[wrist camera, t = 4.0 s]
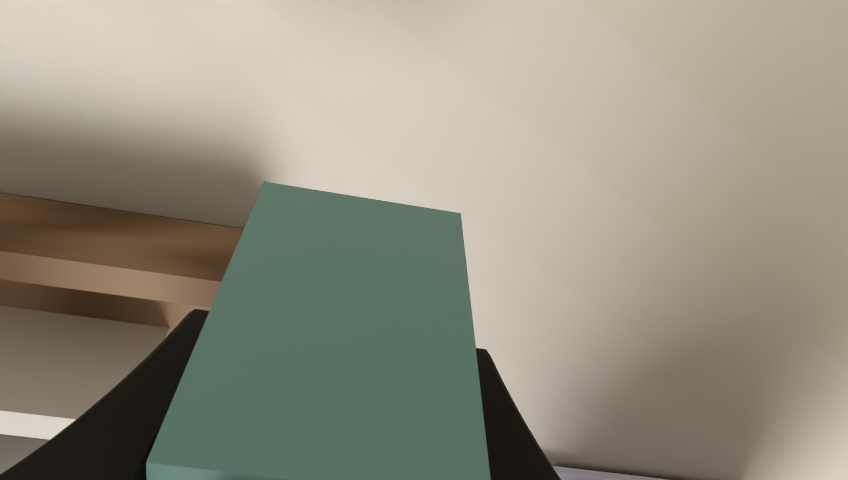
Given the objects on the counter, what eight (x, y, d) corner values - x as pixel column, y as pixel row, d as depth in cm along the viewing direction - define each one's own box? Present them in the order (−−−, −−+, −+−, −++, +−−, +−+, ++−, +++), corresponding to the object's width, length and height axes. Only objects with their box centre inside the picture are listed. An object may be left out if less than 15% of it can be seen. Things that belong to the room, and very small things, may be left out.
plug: (460, 213, 14) (499, 549, 8) (424, 359, 16) (429, 723, 10) (263, 181, 14) (126, 508, 7) (251, 336, 16) (136, 699, 9)
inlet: (169, 328, 24) (123, 425, 20) (171, 470, 28) (132, 575, 24) (-57, 297, 23) (-150, 392, 19) (-23, 449, 27) (-95, 553, 23)
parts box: (273, 233, 23) (256, 286, 20) (249, 535, 31) (233, 600, 28) (-186, 165, 21) (-269, 213, 19) (-83, 501, 29) (-131, 566, 27)
